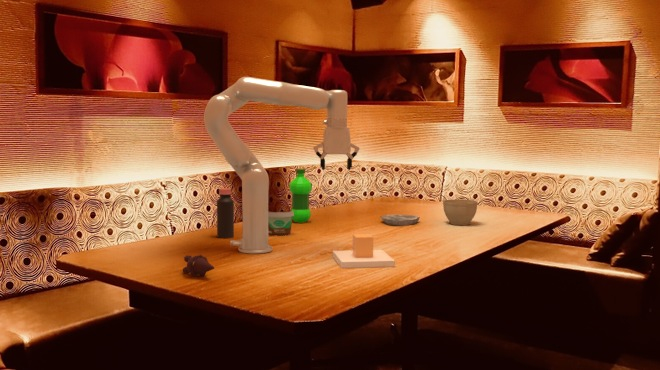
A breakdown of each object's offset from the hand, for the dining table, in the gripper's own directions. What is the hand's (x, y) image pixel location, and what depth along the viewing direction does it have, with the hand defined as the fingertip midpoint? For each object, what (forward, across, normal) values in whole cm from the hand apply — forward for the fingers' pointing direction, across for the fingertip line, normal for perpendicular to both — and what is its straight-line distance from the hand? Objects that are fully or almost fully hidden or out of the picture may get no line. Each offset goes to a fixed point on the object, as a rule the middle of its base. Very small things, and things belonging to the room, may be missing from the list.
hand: (336, 169), depth 239 cm
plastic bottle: (+30, -7, +62) cm, 70 cm away
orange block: (+28, +6, -22) cm, 36 cm away
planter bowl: (+30, +68, +50) cm, 89 cm away
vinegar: (+31, -41, +28) cm, 58 cm away
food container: (+31, -18, +30) cm, 47 cm away
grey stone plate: (+30, +40, +56) cm, 75 cm away
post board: (+30, +6, -22) cm, 38 cm away
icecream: (+31, -49, -36) cm, 68 cm away
